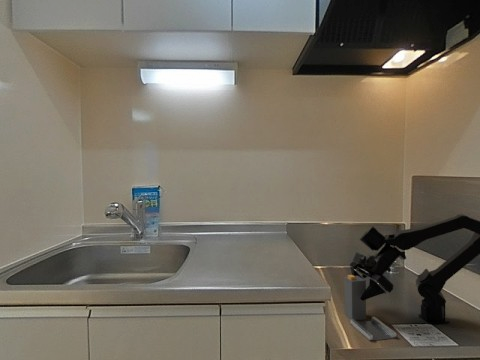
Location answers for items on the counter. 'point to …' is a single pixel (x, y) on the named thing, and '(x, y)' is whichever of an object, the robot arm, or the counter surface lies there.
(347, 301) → the block
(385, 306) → the counter surface
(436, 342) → the counter surface
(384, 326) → the rail seat
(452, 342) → the counter surface
